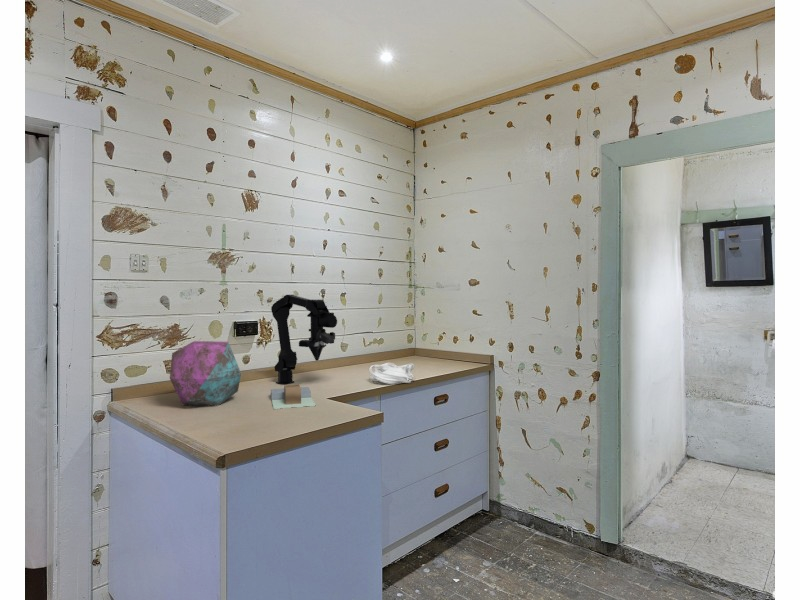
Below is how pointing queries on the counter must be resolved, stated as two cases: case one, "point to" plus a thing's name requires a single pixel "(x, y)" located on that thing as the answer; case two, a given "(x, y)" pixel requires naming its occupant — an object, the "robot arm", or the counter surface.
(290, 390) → the block
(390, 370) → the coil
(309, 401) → the mat
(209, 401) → the decorative object
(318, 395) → the counter surface
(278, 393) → the plate
